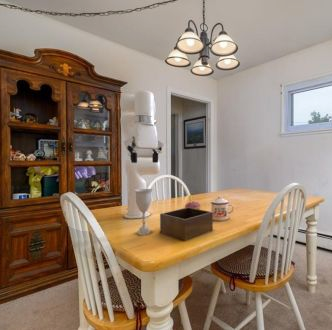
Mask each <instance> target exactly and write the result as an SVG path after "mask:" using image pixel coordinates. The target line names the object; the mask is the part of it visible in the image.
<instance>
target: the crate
mask: <svg viewBox="0 0 332 330" xmlns="http://www.w3.org/2000/svg"><path fill="white" fill-rule="evenodd" d="M213 222H214V220H213V212H211V211H208V210H204V209H194V208H189V207H187V208H185V207H183V208H178V209H174V210H170V211H166V212H161V213H159V234H163V235H166V236H169V237H172V238H175V239H178V240H181V241H184V242H186V241H189V240H191V239H194V238H196V237H199V236H202V235H204V234H206V233H207V234H208V233H209V232H212V231H213V229H214V227H213V226H214V224H213Z"/></svg>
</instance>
